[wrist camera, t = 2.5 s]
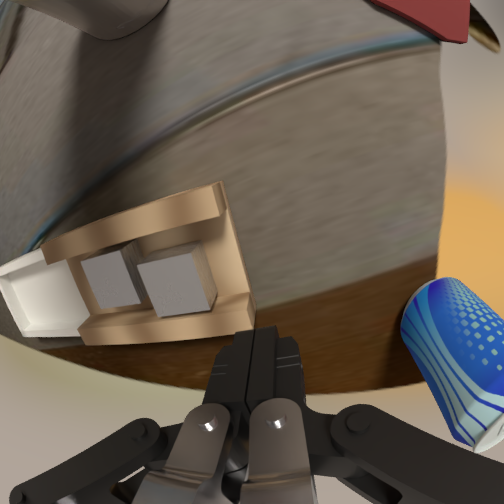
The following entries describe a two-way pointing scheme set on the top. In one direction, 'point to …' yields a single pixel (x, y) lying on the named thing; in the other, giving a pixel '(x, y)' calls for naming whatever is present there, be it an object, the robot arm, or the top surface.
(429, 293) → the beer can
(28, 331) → the tray
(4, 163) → the top surface
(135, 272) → the chip
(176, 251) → the chip
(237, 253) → the slot board
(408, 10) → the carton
